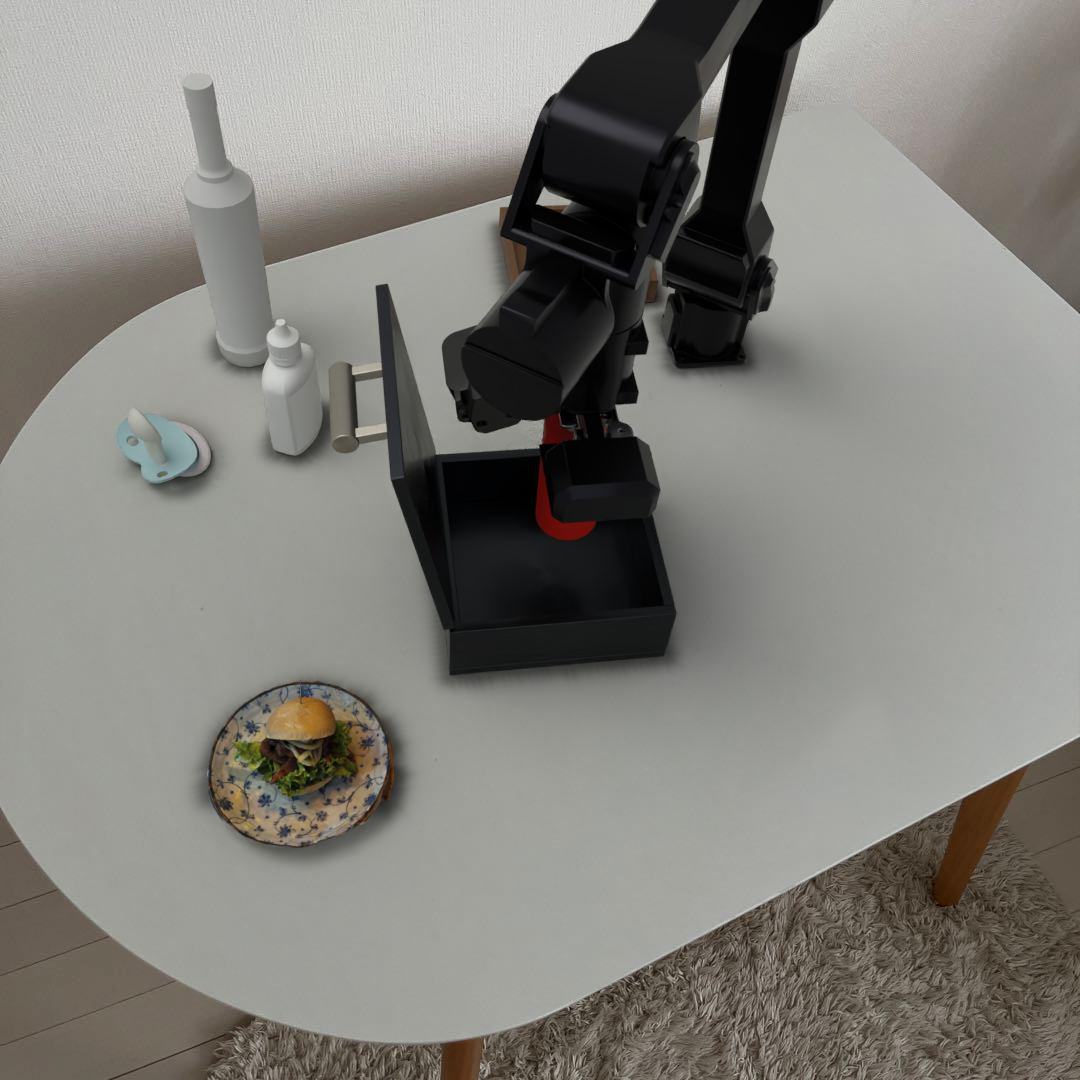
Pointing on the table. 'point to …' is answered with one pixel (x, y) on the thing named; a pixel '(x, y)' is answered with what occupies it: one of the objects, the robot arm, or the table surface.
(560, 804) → the table surface
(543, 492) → the ketchup
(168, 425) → the pacifier
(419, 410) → the door
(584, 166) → the robot arm
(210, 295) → the bottle
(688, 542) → the table surface
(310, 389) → the eye dropper bottle
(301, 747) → the burger
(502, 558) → the black open box
